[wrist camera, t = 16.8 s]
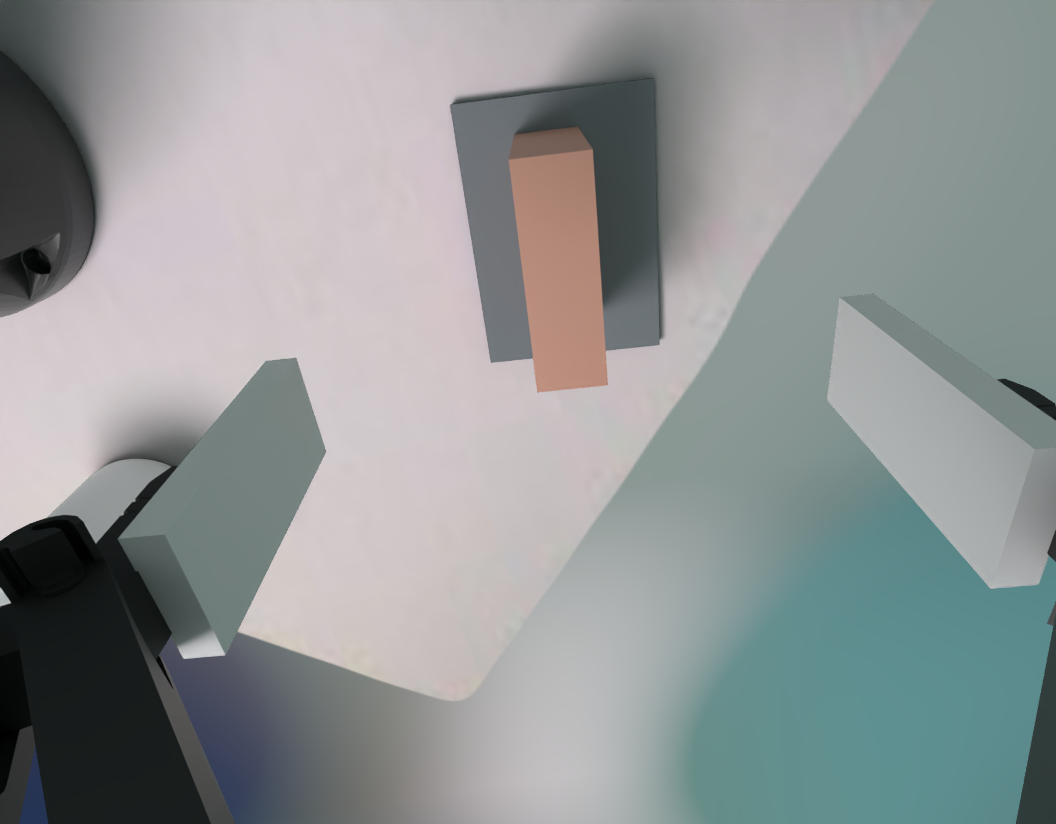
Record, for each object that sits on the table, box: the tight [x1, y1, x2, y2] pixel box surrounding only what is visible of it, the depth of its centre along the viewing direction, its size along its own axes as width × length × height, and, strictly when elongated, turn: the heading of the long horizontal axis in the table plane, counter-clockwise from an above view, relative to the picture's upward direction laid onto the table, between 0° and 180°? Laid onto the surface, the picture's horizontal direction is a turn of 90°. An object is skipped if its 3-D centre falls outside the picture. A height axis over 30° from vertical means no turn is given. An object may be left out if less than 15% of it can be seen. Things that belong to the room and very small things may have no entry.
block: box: [509, 126, 608, 392], centre depth 31 cm, size 3×9×10 cm
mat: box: [450, 78, 659, 363], centre depth 35 cm, size 10×14×1 cm
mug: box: [0, 459, 172, 606], centre depth 40 cm, size 9×12×11 cm
